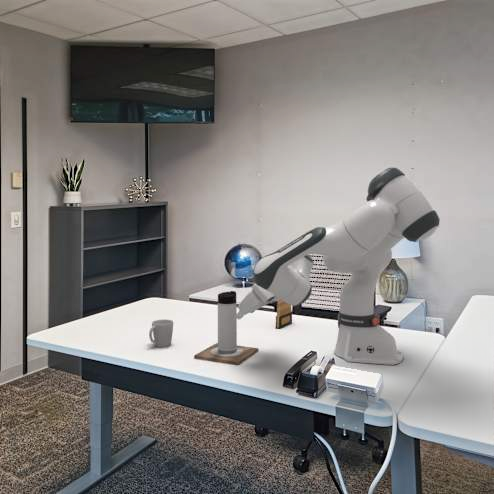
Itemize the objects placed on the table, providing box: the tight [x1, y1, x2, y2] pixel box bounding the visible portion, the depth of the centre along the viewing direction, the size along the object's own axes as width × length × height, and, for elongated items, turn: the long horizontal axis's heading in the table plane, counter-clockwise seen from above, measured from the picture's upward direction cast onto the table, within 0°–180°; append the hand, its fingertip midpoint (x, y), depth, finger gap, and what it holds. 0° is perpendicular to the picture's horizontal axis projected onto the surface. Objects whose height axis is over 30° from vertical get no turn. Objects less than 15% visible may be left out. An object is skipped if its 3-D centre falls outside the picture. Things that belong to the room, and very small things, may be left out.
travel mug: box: [217, 290, 238, 354], centre depth 164 cm, size 6×7×20 cm
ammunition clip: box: [275, 299, 293, 330], centre depth 203 cm, size 11×2×12 cm, turn 146°
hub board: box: [193, 342, 259, 366], centre depth 165 cm, size 16×16×1 cm
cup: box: [148, 319, 174, 348], centre depth 175 cm, size 8×10×8 cm
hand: (244, 314), depth 162 cm, fingers open, 8 cm apart
